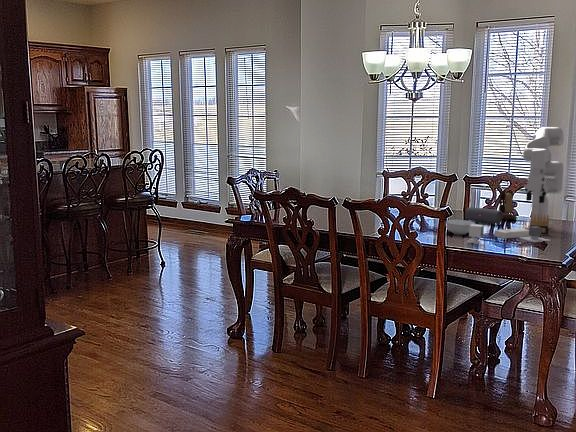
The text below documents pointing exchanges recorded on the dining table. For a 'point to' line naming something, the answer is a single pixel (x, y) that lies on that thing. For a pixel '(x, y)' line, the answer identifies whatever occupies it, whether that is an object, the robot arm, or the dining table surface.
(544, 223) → the ammunition clip
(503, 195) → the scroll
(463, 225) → the cereal bowl
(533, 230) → the block
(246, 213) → the dining table surface
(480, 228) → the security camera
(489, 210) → the bluetooth speaker
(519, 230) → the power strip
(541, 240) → the felt pad
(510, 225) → the dining table surface
